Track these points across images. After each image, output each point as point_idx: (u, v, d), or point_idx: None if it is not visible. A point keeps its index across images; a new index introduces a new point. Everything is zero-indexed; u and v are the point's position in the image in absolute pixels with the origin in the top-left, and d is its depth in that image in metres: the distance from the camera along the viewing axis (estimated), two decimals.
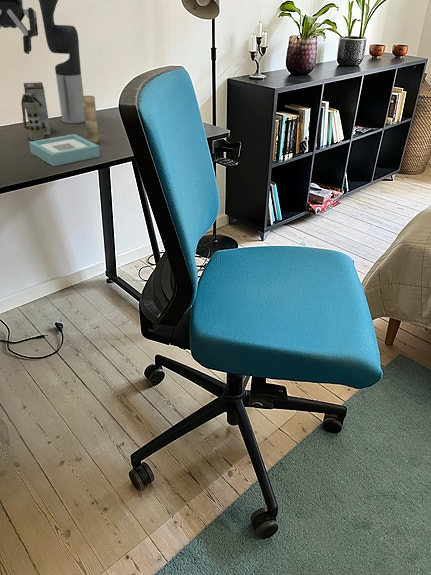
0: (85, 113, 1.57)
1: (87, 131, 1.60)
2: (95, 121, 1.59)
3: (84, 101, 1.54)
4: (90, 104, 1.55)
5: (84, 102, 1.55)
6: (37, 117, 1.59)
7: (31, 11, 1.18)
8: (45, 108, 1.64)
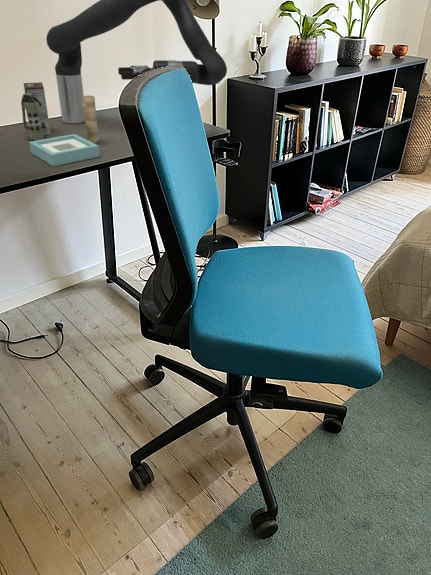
0: (85, 113, 1.57)
1: (87, 131, 1.60)
2: (95, 121, 1.59)
3: (84, 101, 1.54)
4: (90, 104, 1.55)
5: (84, 102, 1.55)
6: (37, 117, 1.59)
7: None
8: (45, 108, 1.64)
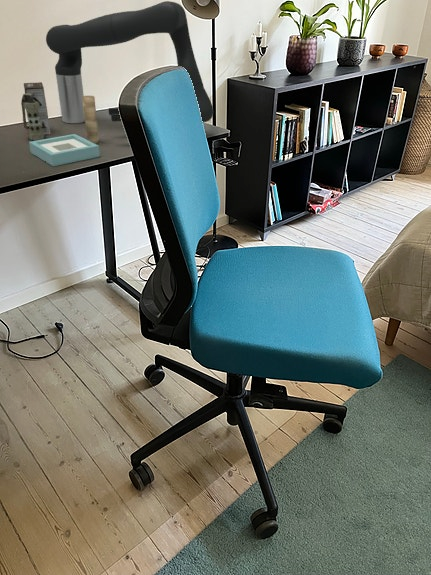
0: (85, 113, 1.57)
1: (87, 131, 1.60)
2: (95, 121, 1.59)
3: (84, 101, 1.54)
4: (90, 104, 1.55)
5: (84, 102, 1.55)
6: (37, 117, 1.59)
7: None
8: (45, 108, 1.64)
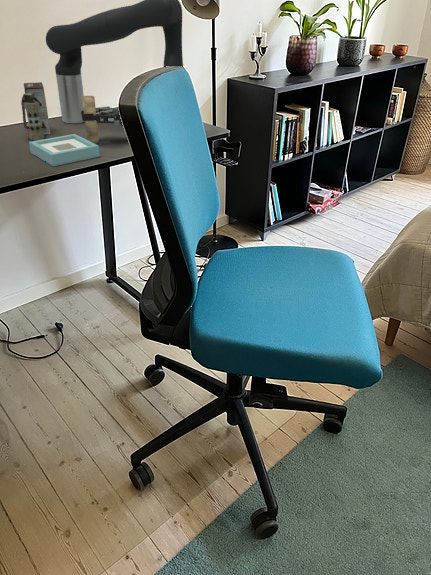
0: (85, 113, 1.57)
1: (87, 131, 1.60)
2: None
3: (84, 101, 1.54)
4: (90, 104, 1.55)
5: (84, 102, 1.55)
6: (37, 117, 1.59)
7: None
8: (45, 108, 1.64)
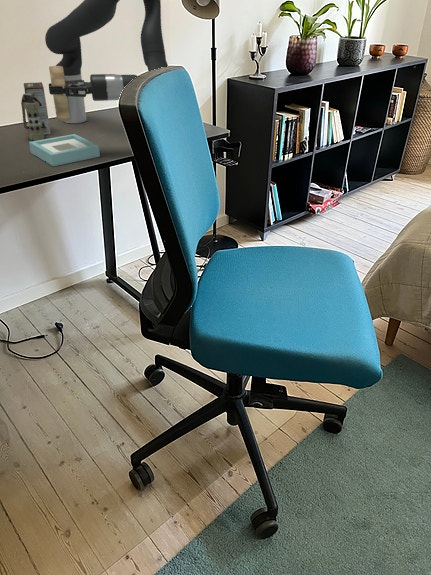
0: None
1: (56, 107, 1.42)
2: (65, 95, 1.41)
3: (51, 72, 1.37)
4: (58, 76, 1.37)
5: (51, 73, 1.37)
6: (37, 117, 1.59)
7: None
8: (45, 108, 1.64)
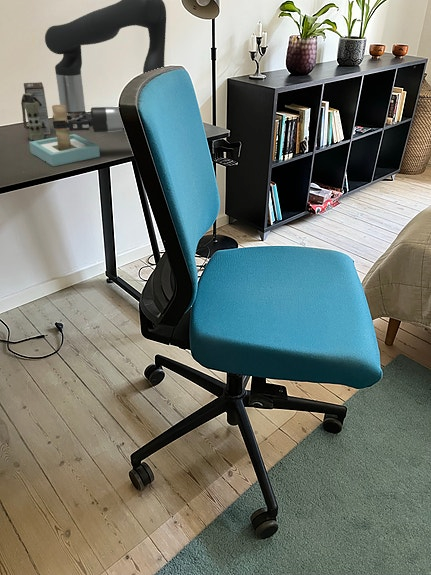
0: None
1: (58, 143, 1.48)
2: (67, 132, 1.47)
3: (54, 111, 1.42)
4: (60, 114, 1.43)
5: (54, 112, 1.43)
6: (37, 117, 1.59)
7: None
8: (45, 108, 1.64)
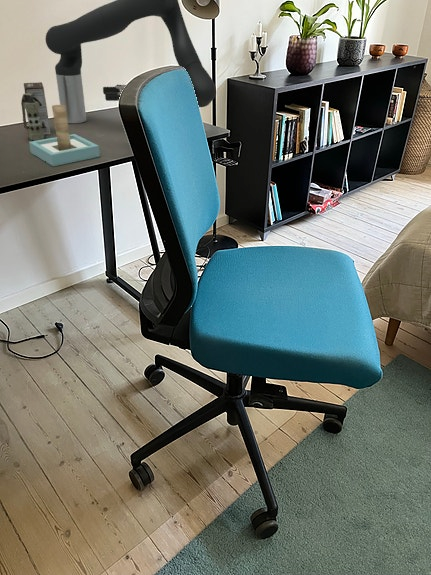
0: (56, 124, 1.45)
1: (58, 143, 1.48)
2: (67, 132, 1.47)
3: (54, 111, 1.42)
4: (60, 114, 1.43)
5: (54, 112, 1.43)
6: (37, 117, 1.59)
7: None
8: (45, 108, 1.64)
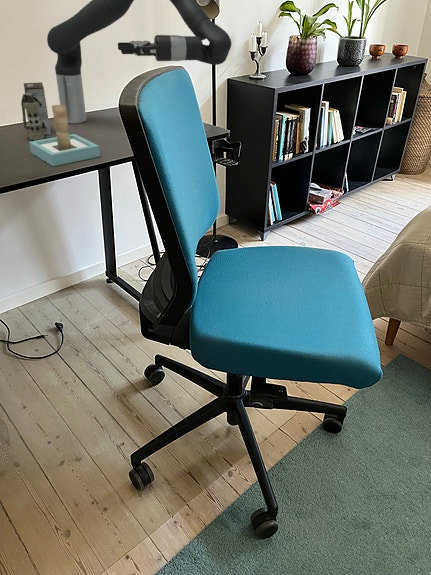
0: (56, 124, 1.45)
1: (58, 143, 1.48)
2: (67, 132, 1.47)
3: (54, 111, 1.42)
4: (60, 115, 1.43)
5: (54, 112, 1.42)
6: (37, 117, 1.59)
7: None
8: (45, 108, 1.64)
